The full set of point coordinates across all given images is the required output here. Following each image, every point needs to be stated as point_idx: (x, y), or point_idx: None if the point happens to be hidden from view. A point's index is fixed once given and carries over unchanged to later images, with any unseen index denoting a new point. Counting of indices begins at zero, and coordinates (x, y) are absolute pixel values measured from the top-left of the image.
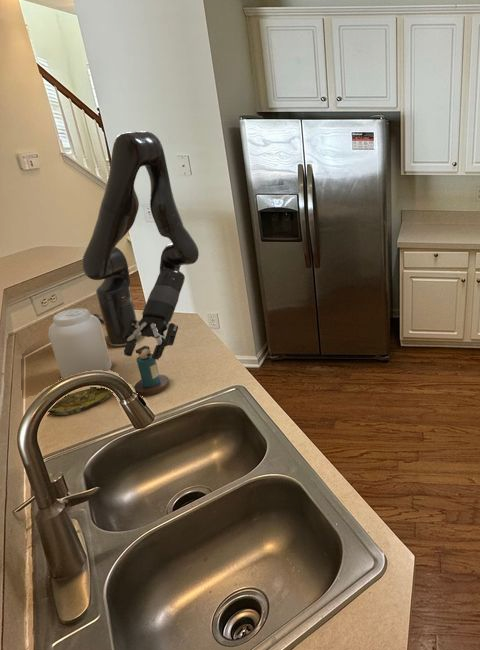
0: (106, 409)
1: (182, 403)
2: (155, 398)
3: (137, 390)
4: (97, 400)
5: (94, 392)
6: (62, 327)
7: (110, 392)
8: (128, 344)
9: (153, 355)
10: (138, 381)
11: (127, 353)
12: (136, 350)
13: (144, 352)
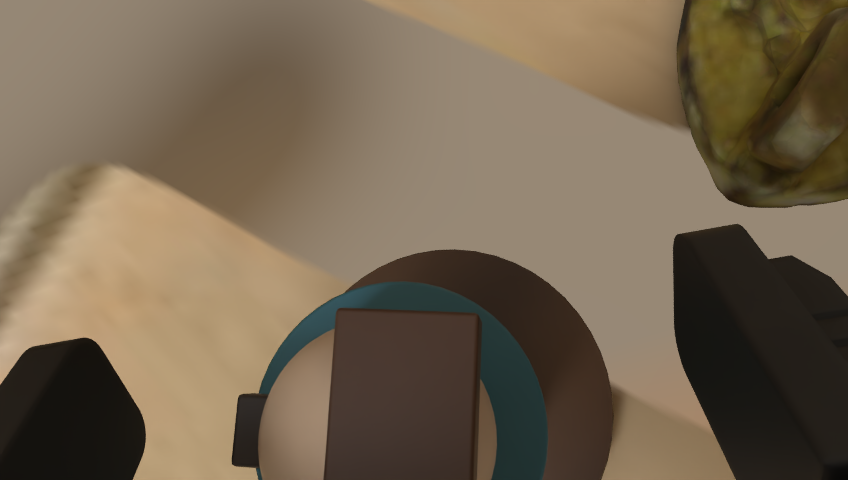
0: (553, 25)
1: (31, 307)
2: (292, 280)
3: (472, 255)
4: (694, 21)
5: (802, 38)
6: None
7: (714, 155)
8: (830, 383)
9: (33, 362)
10: (605, 381)
11: (682, 264)
12: (452, 321)
13: (286, 380)
